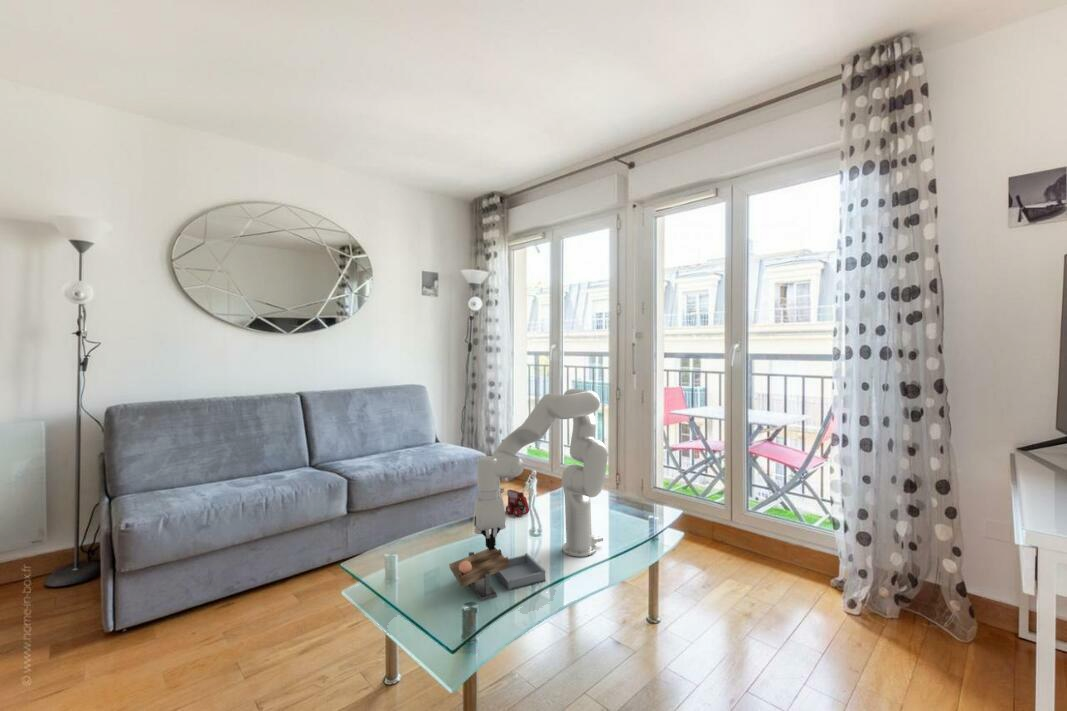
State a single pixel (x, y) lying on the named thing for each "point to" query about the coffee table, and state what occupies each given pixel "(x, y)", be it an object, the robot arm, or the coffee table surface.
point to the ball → (465, 567)
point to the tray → (521, 572)
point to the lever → (480, 566)
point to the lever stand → (483, 586)
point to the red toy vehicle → (516, 503)
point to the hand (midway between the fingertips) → (490, 548)
